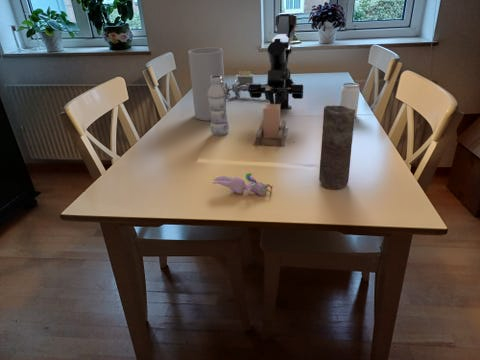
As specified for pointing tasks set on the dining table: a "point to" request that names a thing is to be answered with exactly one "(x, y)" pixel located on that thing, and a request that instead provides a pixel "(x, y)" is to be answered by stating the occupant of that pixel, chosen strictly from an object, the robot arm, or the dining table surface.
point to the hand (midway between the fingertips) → (273, 113)
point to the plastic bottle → (218, 107)
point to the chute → (272, 141)
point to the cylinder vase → (204, 77)
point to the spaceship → (239, 88)
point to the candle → (336, 146)
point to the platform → (245, 77)
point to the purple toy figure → (243, 184)
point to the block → (271, 120)
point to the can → (350, 96)
